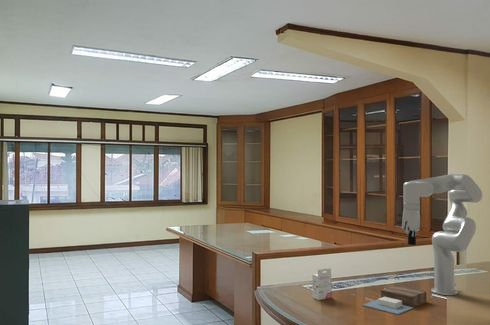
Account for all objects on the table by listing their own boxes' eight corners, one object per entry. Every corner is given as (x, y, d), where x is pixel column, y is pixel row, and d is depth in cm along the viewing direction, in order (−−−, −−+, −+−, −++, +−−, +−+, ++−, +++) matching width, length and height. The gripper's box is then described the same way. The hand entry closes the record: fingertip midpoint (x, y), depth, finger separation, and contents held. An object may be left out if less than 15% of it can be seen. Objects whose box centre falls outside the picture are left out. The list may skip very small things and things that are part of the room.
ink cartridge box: (325, 295, 223) (325, 266, 224) (332, 298, 219) (331, 268, 219) (312, 297, 219) (311, 268, 220) (318, 300, 215) (317, 269, 215)
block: (377, 298, 206) (377, 304, 206) (395, 303, 199) (395, 308, 199) (384, 296, 210) (384, 301, 210) (402, 300, 203) (402, 306, 203)
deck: (395, 295, 224) (395, 285, 224) (426, 301, 212) (426, 291, 212) (381, 300, 214) (380, 290, 215) (412, 307, 202) (411, 296, 203)
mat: (378, 300, 215) (378, 299, 215) (413, 308, 201) (413, 307, 201) (362, 305, 206) (362, 304, 206) (397, 314, 192) (397, 313, 192)
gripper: (411, 206, 224) (412, 242, 223) (396, 207, 214) (397, 245, 214) (426, 206, 218) (426, 243, 218) (411, 208, 208) (411, 247, 208)
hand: (412, 244), depth 216 cm, fingers closed
